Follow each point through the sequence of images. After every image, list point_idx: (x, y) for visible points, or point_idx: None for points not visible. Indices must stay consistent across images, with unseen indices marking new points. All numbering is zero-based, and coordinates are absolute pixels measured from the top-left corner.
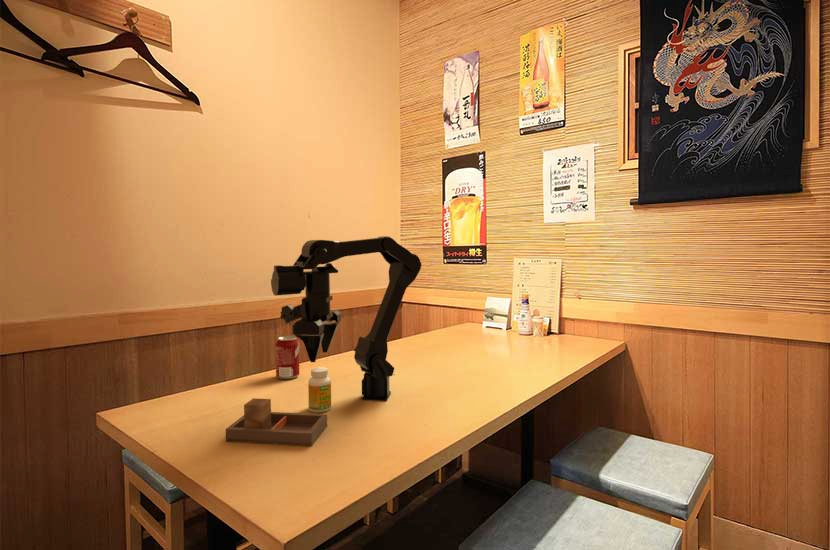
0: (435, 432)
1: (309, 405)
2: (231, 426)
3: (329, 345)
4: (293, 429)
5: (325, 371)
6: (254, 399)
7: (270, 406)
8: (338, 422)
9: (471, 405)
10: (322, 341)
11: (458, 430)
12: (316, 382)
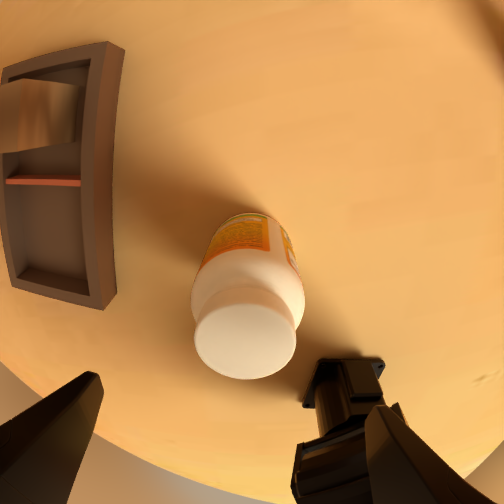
0: (144, 443)
1: (225, 224)
2: (12, 71)
3: (371, 470)
4: (63, 215)
5: (219, 371)
6: (14, 91)
7: (33, 147)
8: (145, 316)
9: (264, 481)
10: (403, 469)
11: (159, 461)
12: (192, 304)
